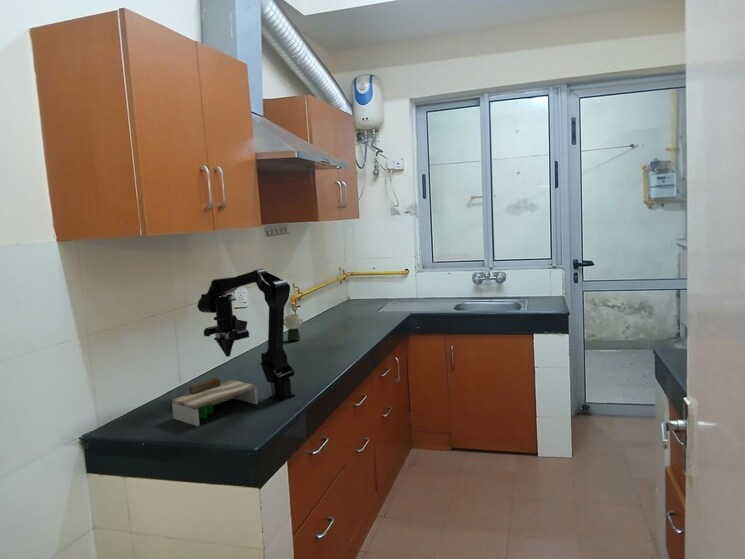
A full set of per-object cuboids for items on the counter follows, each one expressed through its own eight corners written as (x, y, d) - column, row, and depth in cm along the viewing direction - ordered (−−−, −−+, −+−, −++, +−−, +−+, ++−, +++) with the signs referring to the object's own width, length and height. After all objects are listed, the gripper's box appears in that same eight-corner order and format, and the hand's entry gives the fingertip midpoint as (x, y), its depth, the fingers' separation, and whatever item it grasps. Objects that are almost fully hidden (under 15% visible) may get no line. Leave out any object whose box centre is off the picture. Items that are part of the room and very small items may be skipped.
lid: (256, 387, 174) (255, 378, 174) (195, 408, 157) (194, 398, 156) (232, 382, 182) (231, 373, 182) (171, 401, 165) (170, 391, 164)
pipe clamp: (202, 422, 161) (200, 408, 161) (191, 422, 162) (189, 408, 161) (216, 409, 171) (215, 397, 171) (206, 410, 172) (205, 397, 171)
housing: (257, 403, 175) (256, 388, 174) (197, 426, 157) (195, 409, 157) (233, 397, 183) (232, 383, 182) (173, 418, 165) (172, 402, 165)
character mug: (306, 339, 271) (304, 313, 270) (301, 342, 264) (299, 316, 263) (287, 339, 274) (285, 314, 273) (281, 342, 267) (279, 316, 266)
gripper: (259, 311, 190) (262, 354, 192) (226, 308, 201) (229, 348, 203) (234, 316, 181) (237, 361, 183) (201, 313, 193) (205, 355, 194)
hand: (228, 356), depth 191 cm, fingers closed
